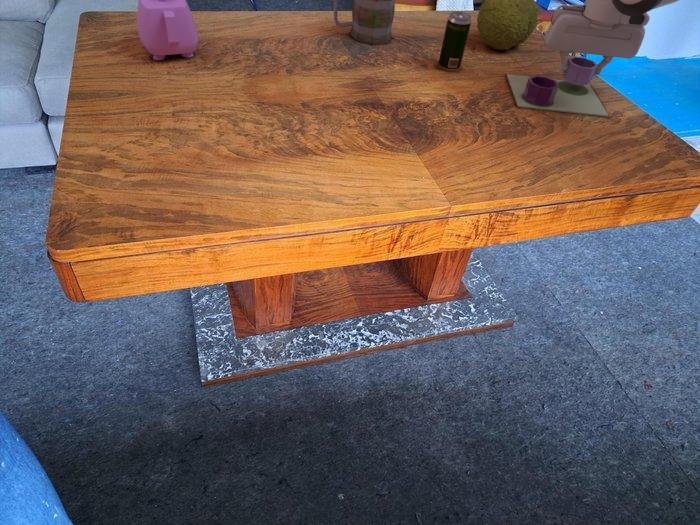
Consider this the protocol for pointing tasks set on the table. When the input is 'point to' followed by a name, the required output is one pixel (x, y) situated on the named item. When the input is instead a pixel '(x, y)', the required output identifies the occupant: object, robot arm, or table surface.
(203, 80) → the table surface
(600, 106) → the mat
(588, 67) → the lavender dish
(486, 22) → the fruit
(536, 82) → the plum dish
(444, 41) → the beer can
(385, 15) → the mug
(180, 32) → the pink rounded piece
